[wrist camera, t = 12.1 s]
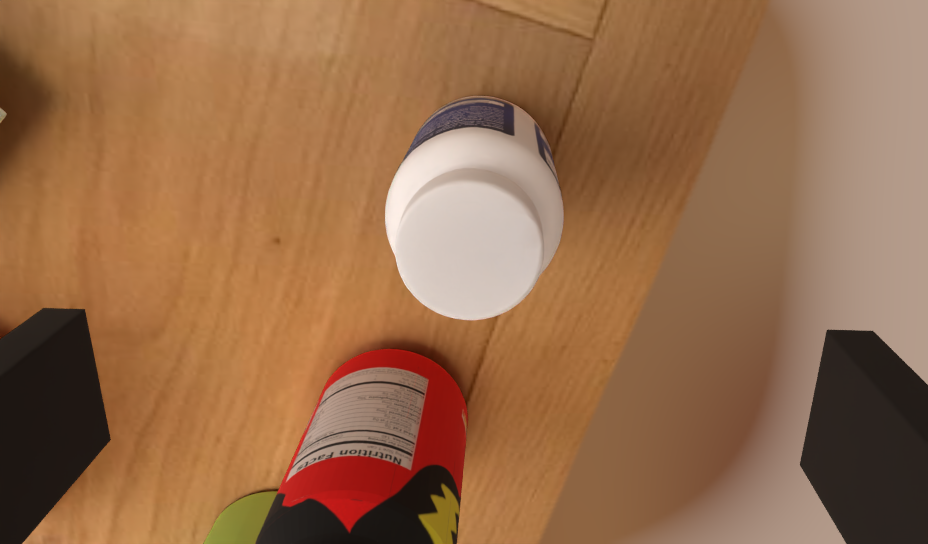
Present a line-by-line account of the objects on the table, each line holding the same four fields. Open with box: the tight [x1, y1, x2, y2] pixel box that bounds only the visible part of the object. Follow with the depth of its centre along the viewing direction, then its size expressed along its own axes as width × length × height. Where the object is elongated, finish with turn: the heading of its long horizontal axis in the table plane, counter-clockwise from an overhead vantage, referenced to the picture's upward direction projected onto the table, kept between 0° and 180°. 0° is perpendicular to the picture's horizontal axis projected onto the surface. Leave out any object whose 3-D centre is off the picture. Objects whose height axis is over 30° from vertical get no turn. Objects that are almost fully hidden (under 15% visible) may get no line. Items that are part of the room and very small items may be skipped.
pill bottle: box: [385, 96, 564, 320], centre depth 24 cm, size 5×5×10 cm
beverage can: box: [255, 349, 468, 544], centre depth 27 cm, size 6×6×12 cm
